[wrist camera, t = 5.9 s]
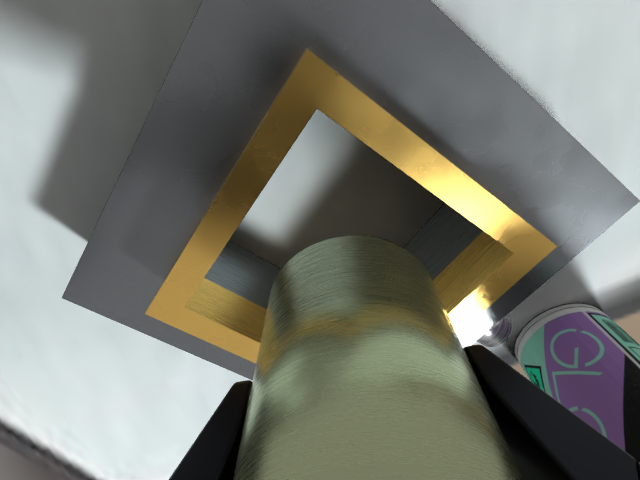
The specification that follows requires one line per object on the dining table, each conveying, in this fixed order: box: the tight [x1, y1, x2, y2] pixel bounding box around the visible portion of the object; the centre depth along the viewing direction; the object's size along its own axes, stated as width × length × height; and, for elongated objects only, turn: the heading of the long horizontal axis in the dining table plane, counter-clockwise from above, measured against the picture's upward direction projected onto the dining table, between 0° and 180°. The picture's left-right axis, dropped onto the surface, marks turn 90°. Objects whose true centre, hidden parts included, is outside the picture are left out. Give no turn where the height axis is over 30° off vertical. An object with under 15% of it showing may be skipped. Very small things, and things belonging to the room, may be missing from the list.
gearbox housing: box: [62, 0, 640, 380], centre depth 15 cm, size 18×16×6 cm
